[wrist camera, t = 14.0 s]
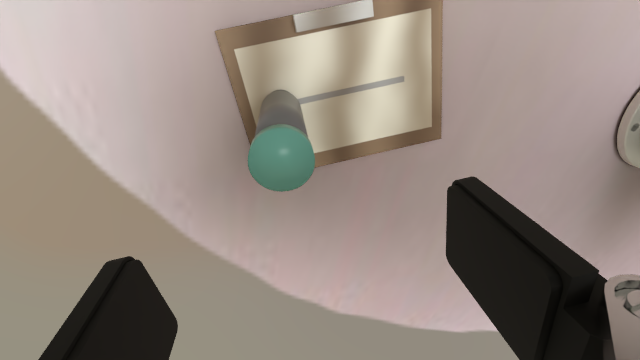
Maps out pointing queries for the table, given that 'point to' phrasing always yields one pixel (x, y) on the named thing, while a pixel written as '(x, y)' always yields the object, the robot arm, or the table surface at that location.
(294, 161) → the marker
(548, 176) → the table surface
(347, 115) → the clipboard
